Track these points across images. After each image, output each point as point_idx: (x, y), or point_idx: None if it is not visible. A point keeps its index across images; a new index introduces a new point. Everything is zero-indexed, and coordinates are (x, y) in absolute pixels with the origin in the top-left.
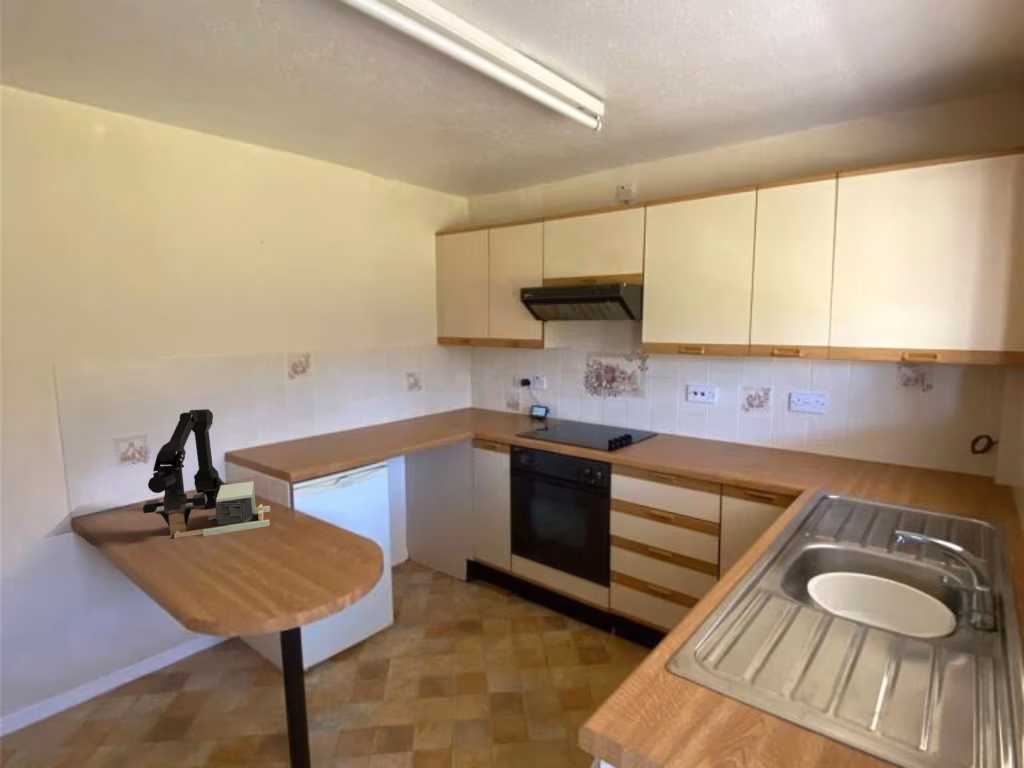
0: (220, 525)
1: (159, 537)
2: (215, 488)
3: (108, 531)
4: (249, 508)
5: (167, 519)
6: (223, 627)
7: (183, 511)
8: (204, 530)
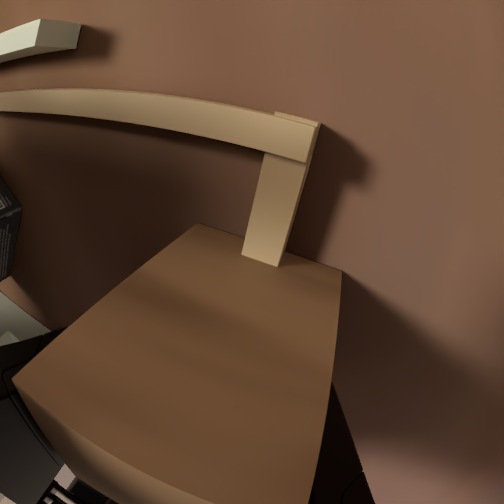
0: (6, 192)
1: (441, 292)
2: (55, 499)
3: (495, 495)
4: None
5: (328, 471)
6: None
7: (67, 460)
8: (33, 21)
